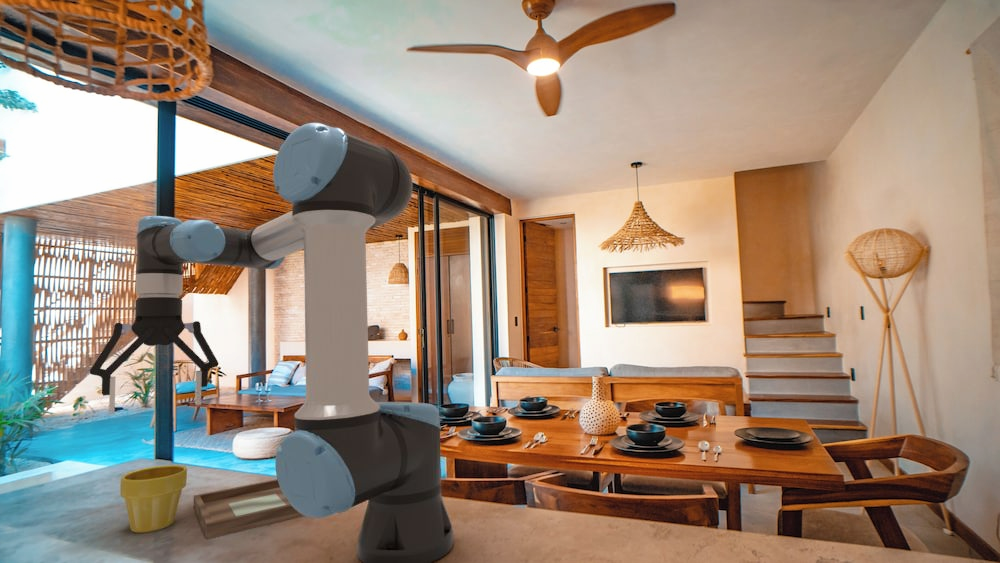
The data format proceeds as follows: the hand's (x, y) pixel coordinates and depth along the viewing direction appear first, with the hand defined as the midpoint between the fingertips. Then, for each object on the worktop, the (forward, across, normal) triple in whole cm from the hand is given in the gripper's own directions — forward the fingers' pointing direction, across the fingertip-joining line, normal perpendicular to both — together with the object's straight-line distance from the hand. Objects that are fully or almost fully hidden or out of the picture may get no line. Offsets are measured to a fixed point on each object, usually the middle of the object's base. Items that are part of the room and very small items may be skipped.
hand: (156, 408), depth 97 cm
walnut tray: (+21, -17, +4) cm, 28 cm away
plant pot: (+22, 0, 0) cm, 22 cm away
